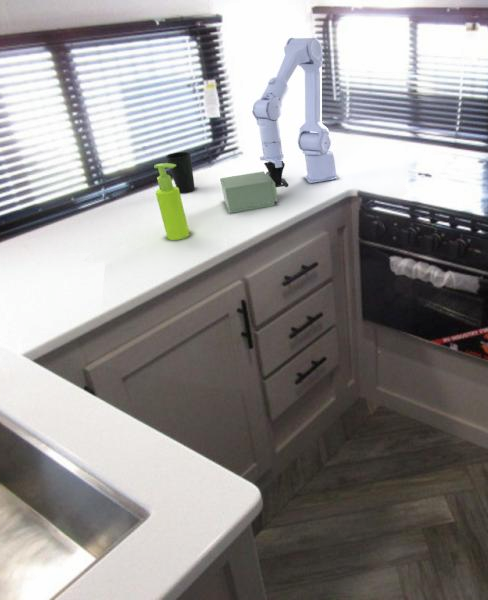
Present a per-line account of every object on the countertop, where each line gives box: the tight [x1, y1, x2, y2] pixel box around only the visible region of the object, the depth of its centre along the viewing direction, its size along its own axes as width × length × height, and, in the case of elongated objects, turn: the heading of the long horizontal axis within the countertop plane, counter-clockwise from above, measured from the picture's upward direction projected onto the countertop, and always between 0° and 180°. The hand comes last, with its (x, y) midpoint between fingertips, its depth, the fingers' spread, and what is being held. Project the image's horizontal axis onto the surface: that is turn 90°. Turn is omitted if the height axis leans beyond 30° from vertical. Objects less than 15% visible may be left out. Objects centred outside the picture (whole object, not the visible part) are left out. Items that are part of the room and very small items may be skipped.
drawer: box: [265, 173, 289, 203], centre depth 177 cm, size 17×10×6 cm, turn 111°
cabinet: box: [219, 170, 276, 214], centre depth 176 cm, size 14×12×8 cm
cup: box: [165, 151, 196, 194], centre depth 190 cm, size 8×8×12 cm
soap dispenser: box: [153, 162, 190, 241], centre depth 152 cm, size 6×7×20 cm
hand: (277, 185), depth 178 cm, fingers closed, pressing on drawer
